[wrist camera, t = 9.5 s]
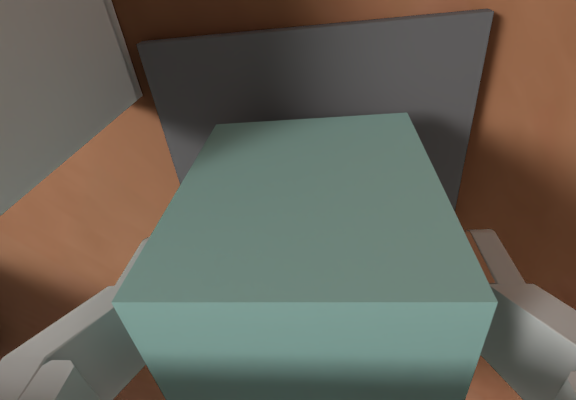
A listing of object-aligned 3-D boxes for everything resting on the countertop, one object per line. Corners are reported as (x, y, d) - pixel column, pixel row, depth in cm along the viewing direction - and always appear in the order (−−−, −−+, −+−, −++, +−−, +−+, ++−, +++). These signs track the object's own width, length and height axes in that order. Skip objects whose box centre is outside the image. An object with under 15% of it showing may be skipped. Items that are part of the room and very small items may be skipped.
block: (216, 124, 10) (111, 301, 5) (407, 112, 9) (498, 302, 4) (246, 259, 13) (197, 456, 8) (394, 256, 12) (441, 469, 7)
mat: (142, 40, 10) (136, 44, 10) (487, 9, 9) (494, 10, 9) (212, 271, 15) (210, 279, 15) (439, 269, 14) (441, 277, 14)
